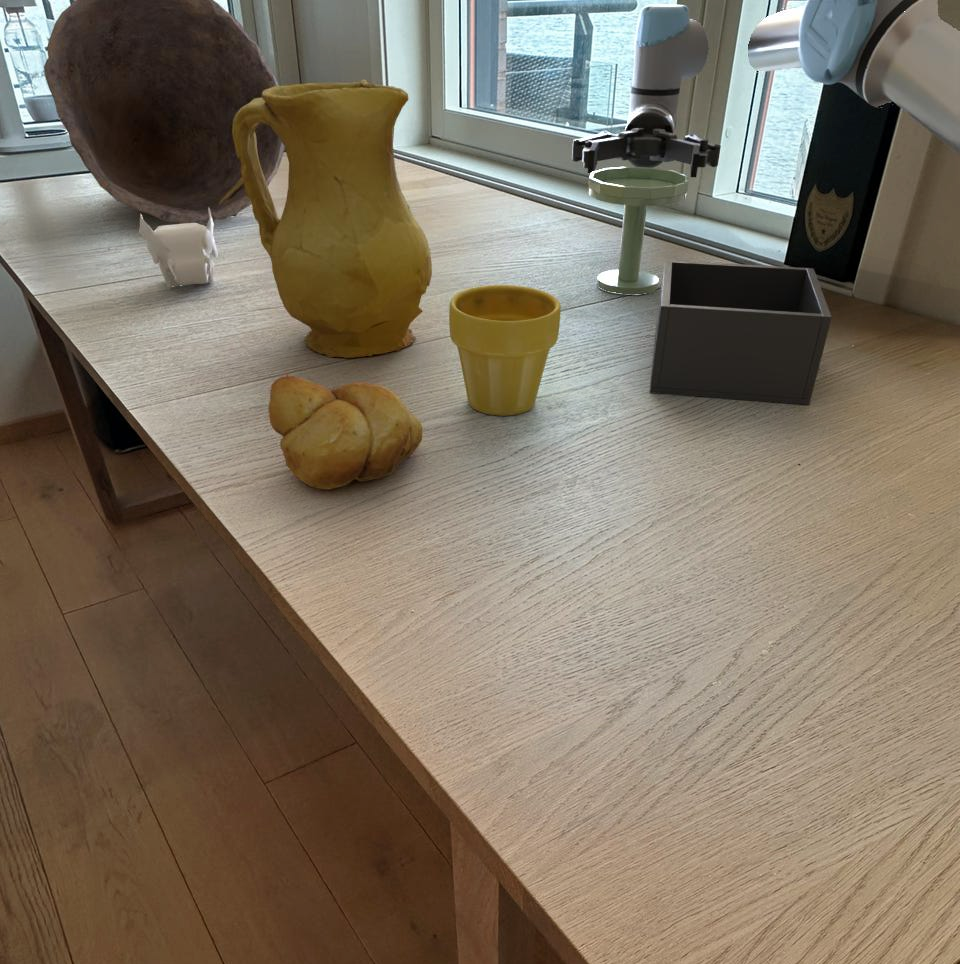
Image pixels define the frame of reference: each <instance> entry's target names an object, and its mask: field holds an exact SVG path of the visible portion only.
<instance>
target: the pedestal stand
mask: <svg viewBox="0 0 960 964" xmlns="http://www.w3.org/2000/svg"><path fill="white" fill-rule="evenodd" d="M688 189H689V175H687V174H683V173H682V172H678V171H676V170H671V169H665V168H659V167H654V168H647V167H635V166H619V167H605V168H602V169H599V170H594V172H591V173H589V177H588V195H589V196H590V197H591V198H593V199H594V200H596V201H600V202H603V203H607V204H613V205H619V206H621V205H622V206H624V208H623V217H622V227H621V236H620V237H621V239H620V248H619V258H618V267H617V268H618V269H611V270H606V271H604V272H601V273H600V274H598V275H597V280H596V286H597V285H598V286H599V287H600V288H602V289H604V290H606V291H610V292H616V293H622V294H644V293H649V294H651V293H650V292H652V293H654V292H656V291H657V290H658V288H659V283H660V282H659V281H660V280H659V277H658V276H657V275H655V274H653V273H650V272H647V271H643V270H641V264H642V263H641V262H642V254H643V246H644V237H645V228H646V220H647V211H648V207H657V206H668V205H673V204H677V203H679V202H683V201H685V200H686V198H687V193H688ZM598 286H597V287H598ZM656 289H657V290H656ZM655 290H656V291H655ZM653 291H654V292H653Z"/></svg>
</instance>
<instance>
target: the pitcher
mask: <svg viewBox="0 0 960 964" xmlns="http://www.w3.org/2000/svg"><path fill="white" fill-rule="evenodd" d="M408 101H409V93H408V92H407V91H405V90H404V89H403V88H401V87H396V86H393V85H381V84H377V83H370V82H367V80H366V79H361V80H360V81H353V82H348V81H347V82H308V83H296V84H291V85H289V84H288V85H287V84H286V85H279V86H275V87H272V88H269V89H265V90H264V91H263V92H262V98H256V99H253V100H252V101H251V102H250V103H249V104H247V105H245V106H244V107H242V108H241V109H240V110H239V111H238V112H237V113H236V115H235V117H234V119H233V128H232V135H233V140H234V145H235V149H236V154H237V158H239V159H240V161H241V164H242V166H241V168H240V169H241V174H242V178H243V181H244V185H245V190H246V194H247V195H248V197H250V198H251V203H252V204H251V206H252V207H251V208H252V213H253V216H254V219H255V220H256V221H257V224H258V228H259V229H258V233H259V236H260V243H261V245H262V247H263V248H264V250H265V251H266V253H267V254H268V257H269V258H270V261H271V271H272V274H273V278H274V281H275V284H276V288H277V291H278V294H279V298H280V300H281V302H282V305H283V308H284V309H285V310H286V311H287V313H288V314H289V316H290V318H291V317H292V318H293V319H295V320H297V321H298V322H300V323H302V324H303V325H305V326H307V327H309V328H310V330H309V332H308V334H306V336H305V337H304V338H303V339H304V341H305V345H306V346H307V347H308V348H309V349H310V350H312V351H314V353H317V354H319V355H325V356H326V357H327V358H338V357H339V358H344V359H349V358H350V359H353V358H354V359H355V358H360V357H363V358H364V357H366V356H368V357H372V356H373V355H383V354H387V353H389V352H390V353H392V352H394V351H400V350H401V349H404V348H407V347H409V346H410V345H411V344H413V343H414V342H415V340H416V336H415V335H414V333H413V329H411V328H410V324H412V323H413V321H414V320H415V319H416V318H418V317H419V316H420V315H421V314H422V313H423V312H424V311H423V310H422V309H421V307H419V306H420V303H421V300H422V296H423V295H424V294H426V292H427V289H428V287H429V286H430V283H431V281H432V275H433V264H432V257H431V256H432V255H431V248H430V246H429V242H428V239H427V236H426V234H425V232H424V230H423V229H422V226H421V225H420V224H419V222H418V221H417V219H416V217H415V216H414V214H413V212H412V211H411V210H412V209H411V207H410V205H409V204H408V202H407V199H406V197H405V195H404V193H403V192H402V189H401V185H400V182H399V180H398V179H399V178H398V175H397V171H396V163H395V162H396V161H395V152H394V136H395V135H394V134H395V125H396V123H397V119H398V118H399V116H400V113H402V112H401V111H402V109H403V107H404V106H406V104H407V102H408ZM259 123H260V124H265V125H269V126H271V127H272V129H273V130H274V132H275V133H276V134H277V136H278V137H279V139H280V140H281V142H282V143H283V144H284V146H285V148H284V151H285V154H286V158H287V160H288V179H287V180H288V181H287V192H286V200H285V203H284V208H283V210H282V214H281V218H279V215H278V211H277V209H276V207H275V203H274V201H273V197H272V194H271V192H270V189H269V185H268V186H267V183H266V179H265V177H264V175H263V172H262V168H261V165H260V162H259V158H258V152H257V140H256V134H255V130H256V128H257V127H258V125H259Z"/></svg>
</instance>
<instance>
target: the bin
mask: <svg viewBox="0 0 960 964" xmlns="http://www.w3.org/2000/svg"><path fill="white" fill-rule="evenodd" d="M658 303H659V304H658V310H657V319H656V326H655V334H654V343H653V353H652V362H651V363H652V364H651V372H650V373H651V375H650V382H649V383H650V386H649V393H651V394H663V395H674V396H675V395H676V396H687V397H688V396H689V397H699V398H700V397H702V398H713V399H728V400H739V401H753V402H766V403H777V404H778V403H779V404H791V405H803V406H810V404H811V399H812V396H813V392H814V388H815V384H816V380H817V377H818V373H819V370H820V366H821V361H822V358H823V353H824V350H825V346H826V345H825V344H826V342H827V338H828V334H829V330H830V327H831V323H832V318H833V316H832V314H831V312H830V309H829V306H828V303H827V300H826V298H825V295H824V293H823V290H822V287H821V285H820V282H819V279H818V276H817V273H816V271H815V269H814V268H810V267H798V266H797V267H795V266H780V265H779V266H778V265H761V264H760V265H759V264H745V263H743V264H740V263H726V262H725V263H724V262H709V261H708V262H705V261H704V262H703V261H687V260H672V259H671V260H670V259H667V260H666V259H664V265H663V273H662V280H661V288H660V297H659V301H658Z"/></svg>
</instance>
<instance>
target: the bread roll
mask: <svg viewBox="0 0 960 964" xmlns="http://www.w3.org/2000/svg"><path fill="white" fill-rule="evenodd" d="M269 393H270V395H269V403H268V410H267V411H268V419H269V423H270V426H271V428H272V429H273V431H274V432H275V433H277V434H278V435H280V436H281V437H282V438H281V439H280V442H279V443H280V449H281V451H282V454H283V457H284V461H285V467H287V468H288V469H289V470H290V472H291V473H292V474H293V475H294V476H295V477H296V478H297V479H299V481H301V482H302V483H303V484H305V485H307V486H309V487H311V488H314V489H319V490H331V489H336V488H340V487H345V486H346V485H349V484H350V483H351V482H352V481H354V480H356V481H357V482H367V481H371V480H375V479H376V480H377V479H380V478H383V477H386V476H389V475H392V474H393V473H394V472H395V471H396V470H397V469H398V466H399V465H400V464H401V462H403V461H405V460H408V459H409V458H410V457H411V456H412V455H413V453H414V452H415V451H416V450H417V449H418V447H419V446H420V444H421V442H422V440H423V424H422V422H421V421H420V420H419V418H418V417H417V416H416V415H415V414H413V413H412V412H411V411H409V410H408V408H407V406H406V404H405V403H404V401H403V400H402V399H401V398H400V397H399V396H398V395H397V394H396V393H395V392H393V391H392V390H391V389H388V388H386V387H384V386H382V385H381V384H378V383H373V382H367V381H357V382H352V381H351V382H348V383H345V384H342V385H341V386H339V387H337V388H334V389H330V388H328V387H325V386H323V385H320V384H318V383H315V382H312V381H310V380H308V379H304V378H302V377H300V376H295V375H288V374H286V375H285V376H281V377H279V378H277V379H275V380H274V381H273V382H272V384H271V385H270V391H269Z"/></svg>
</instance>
